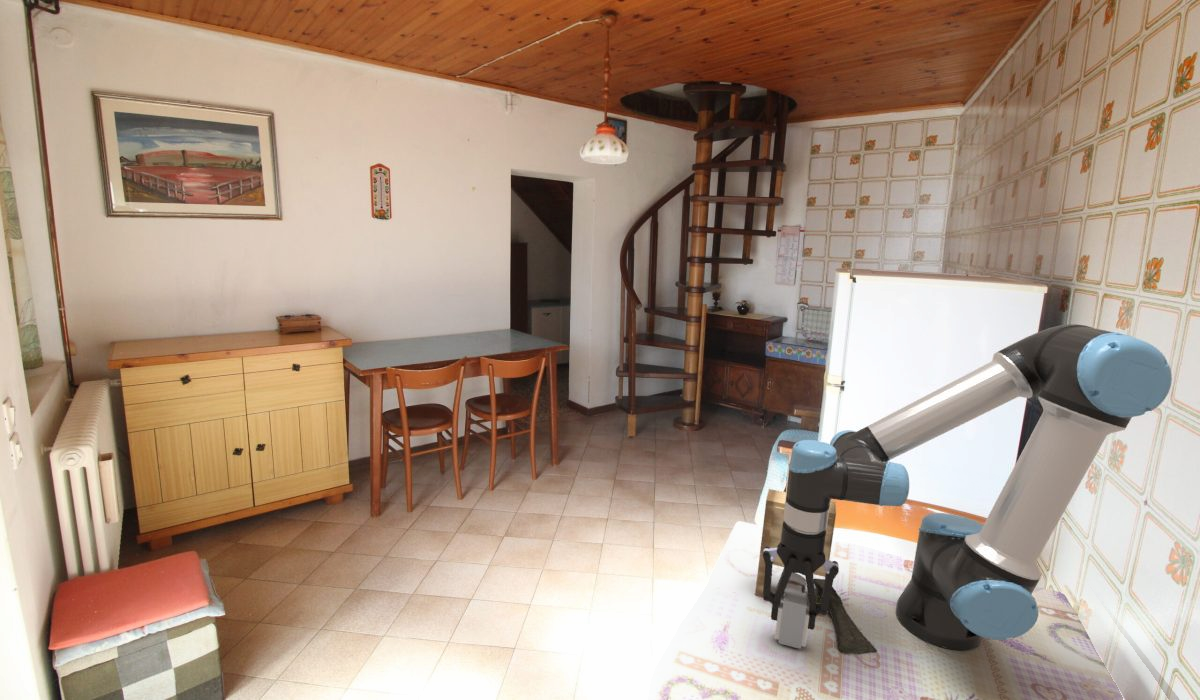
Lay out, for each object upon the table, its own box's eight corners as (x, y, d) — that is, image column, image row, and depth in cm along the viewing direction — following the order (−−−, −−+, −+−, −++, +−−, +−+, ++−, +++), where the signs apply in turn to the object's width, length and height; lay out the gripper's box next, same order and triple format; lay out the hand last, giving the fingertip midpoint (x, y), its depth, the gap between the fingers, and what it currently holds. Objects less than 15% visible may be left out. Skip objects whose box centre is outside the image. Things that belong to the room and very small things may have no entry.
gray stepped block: (802, 597, 123) (807, 559, 121) (800, 649, 107) (806, 605, 105) (783, 592, 124) (788, 554, 122) (778, 642, 108) (783, 600, 107)
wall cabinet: (821, 596, 125) (835, 501, 120) (821, 615, 118) (836, 516, 114) (757, 580, 129) (768, 488, 125) (754, 598, 123) (765, 502, 118)
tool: (878, 662, 108) (882, 649, 107) (839, 659, 108) (843, 646, 107) (831, 585, 128) (834, 574, 127) (797, 582, 127) (801, 571, 127)
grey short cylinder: (805, 588, 127) (806, 575, 127) (803, 600, 123) (805, 588, 122) (781, 582, 129) (783, 570, 129) (779, 594, 125) (781, 581, 124)
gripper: (853, 525, 106) (837, 638, 110) (758, 506, 111) (746, 614, 116) (856, 545, 99) (839, 664, 103) (754, 524, 104) (742, 638, 109)
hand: (790, 638), depth 110 cm, fingers closed on gray stepped block, 4 cm apart
